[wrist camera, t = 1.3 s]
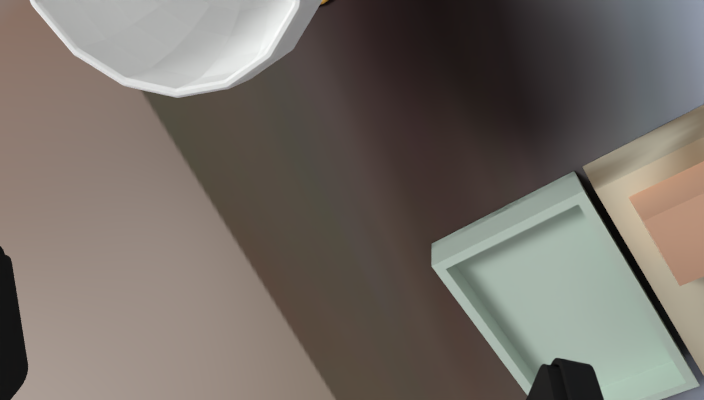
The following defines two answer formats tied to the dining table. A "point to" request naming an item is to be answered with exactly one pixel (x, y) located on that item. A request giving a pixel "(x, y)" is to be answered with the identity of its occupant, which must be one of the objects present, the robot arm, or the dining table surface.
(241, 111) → the dining table surface
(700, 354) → the birch platform
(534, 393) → the robot arm
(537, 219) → the box
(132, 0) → the cup
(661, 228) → the terracotta tile
